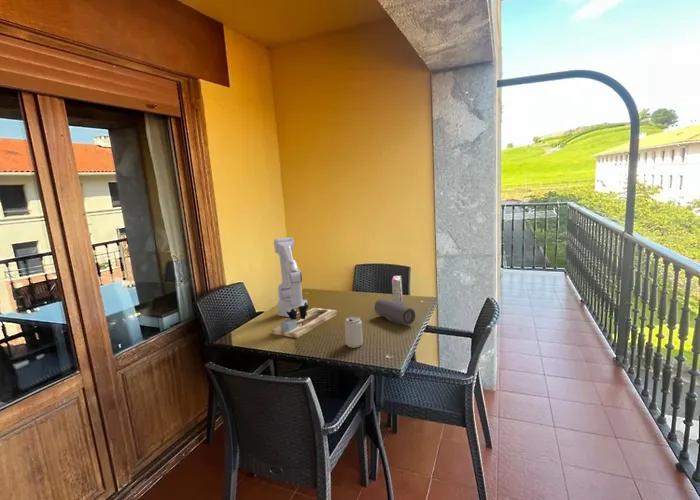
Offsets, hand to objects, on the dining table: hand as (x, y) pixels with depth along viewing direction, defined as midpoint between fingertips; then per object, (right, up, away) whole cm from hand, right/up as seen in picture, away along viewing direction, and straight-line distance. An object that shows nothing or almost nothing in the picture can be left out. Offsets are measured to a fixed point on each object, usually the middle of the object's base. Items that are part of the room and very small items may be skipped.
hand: (298, 321), depth 183 cm
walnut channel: (+3, 0, +4) cm, 5 cm away
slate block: (-4, -2, -7) cm, 8 cm away
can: (+28, -6, -25) cm, 38 cm away
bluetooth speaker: (+49, 0, 0) cm, 49 cm away
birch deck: (+3, -2, +6) cm, 7 cm away
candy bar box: (+54, +4, +25) cm, 59 cm away
